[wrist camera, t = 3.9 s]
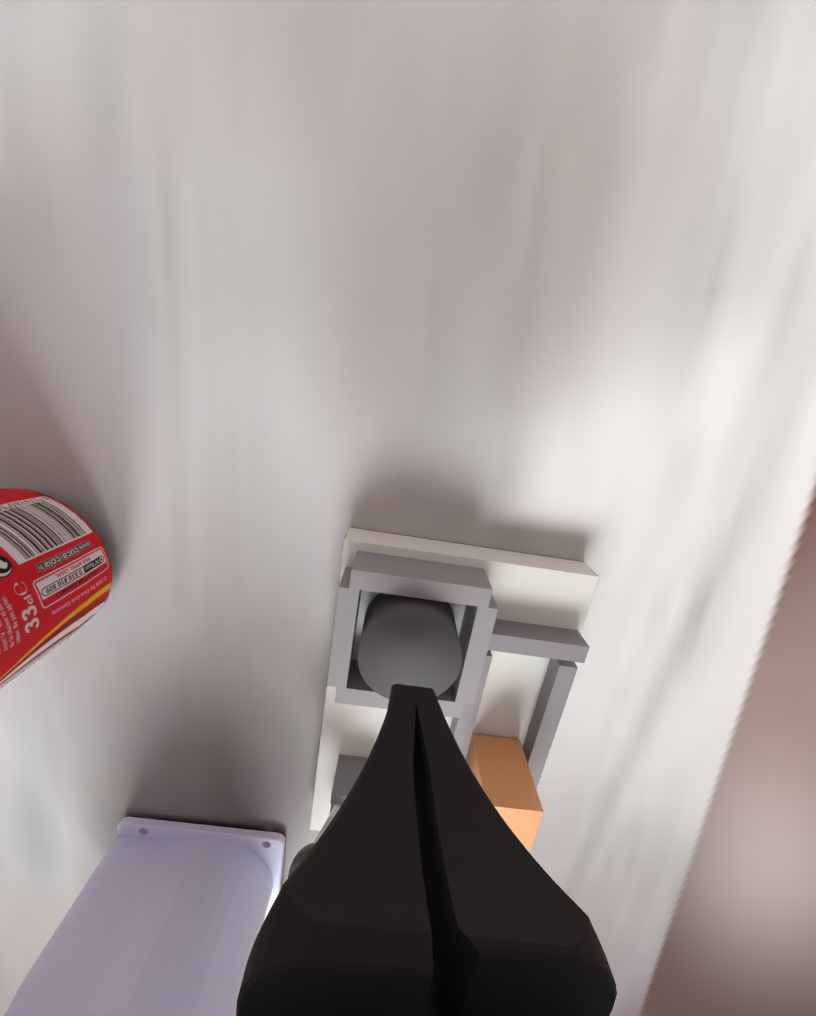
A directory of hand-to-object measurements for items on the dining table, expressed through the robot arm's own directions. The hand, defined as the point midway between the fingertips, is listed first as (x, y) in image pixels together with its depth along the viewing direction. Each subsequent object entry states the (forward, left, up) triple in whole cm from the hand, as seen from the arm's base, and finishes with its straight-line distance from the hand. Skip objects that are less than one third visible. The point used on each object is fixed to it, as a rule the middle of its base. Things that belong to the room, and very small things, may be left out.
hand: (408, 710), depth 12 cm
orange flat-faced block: (+5, -7, -5) cm, 10 cm away
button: (0, 0, -5) cm, 5 cm away
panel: (+2, -5, -6) cm, 8 cm away
